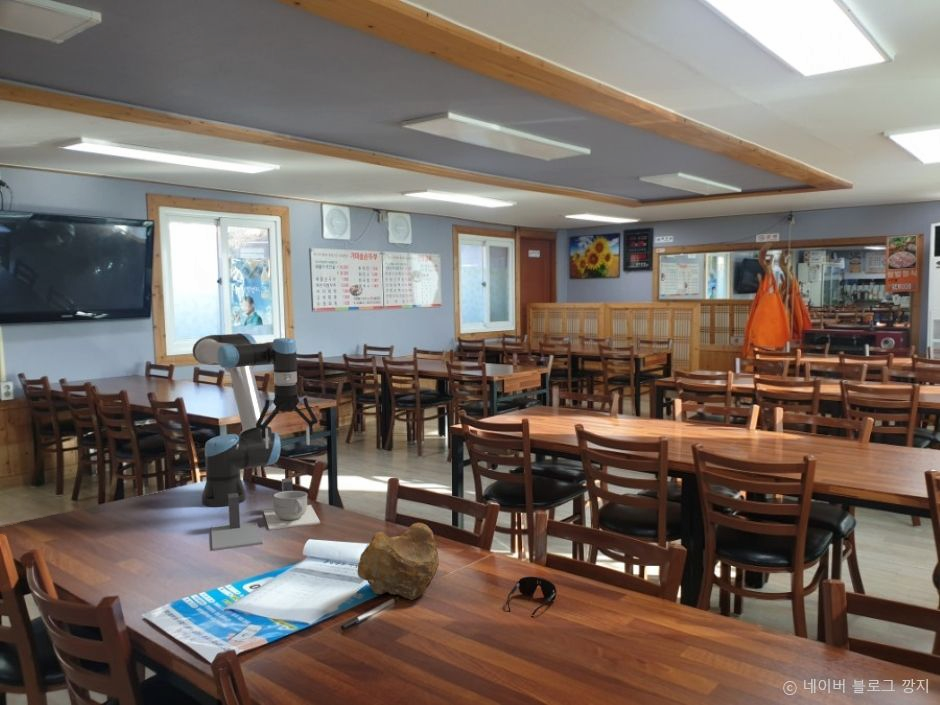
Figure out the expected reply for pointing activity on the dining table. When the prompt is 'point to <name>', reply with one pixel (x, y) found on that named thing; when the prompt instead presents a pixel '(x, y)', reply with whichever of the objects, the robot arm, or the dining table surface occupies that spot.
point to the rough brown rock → (400, 562)
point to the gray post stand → (235, 529)
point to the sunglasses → (530, 585)
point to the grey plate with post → (279, 523)
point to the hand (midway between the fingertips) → (287, 446)
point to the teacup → (290, 504)
